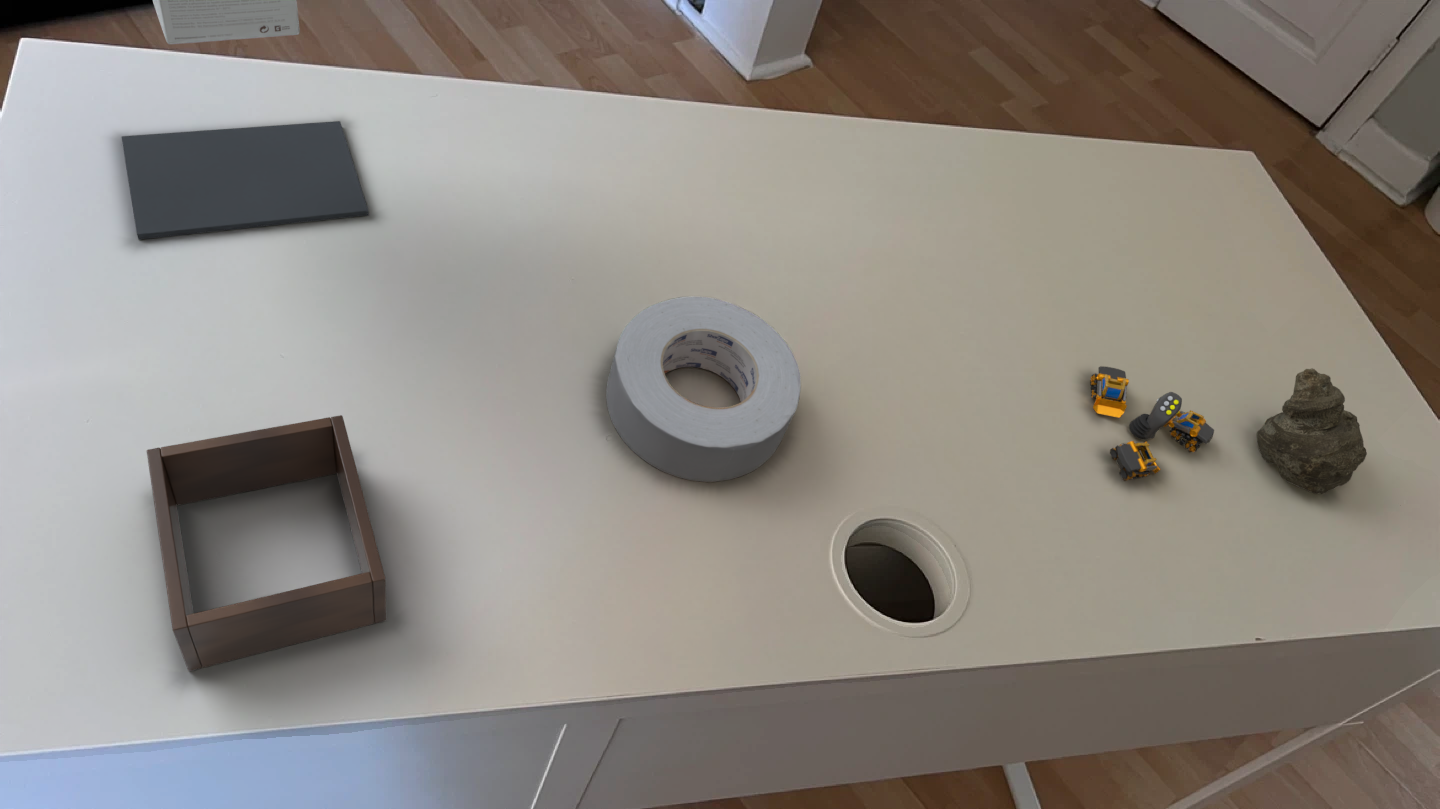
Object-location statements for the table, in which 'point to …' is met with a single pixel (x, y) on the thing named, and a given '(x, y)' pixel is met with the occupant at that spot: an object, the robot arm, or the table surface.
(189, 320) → the table surface
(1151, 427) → the toy set
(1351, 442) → the seashell
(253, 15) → the supplement box
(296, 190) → the mat
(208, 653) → the brown open square box
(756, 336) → the tape roll
